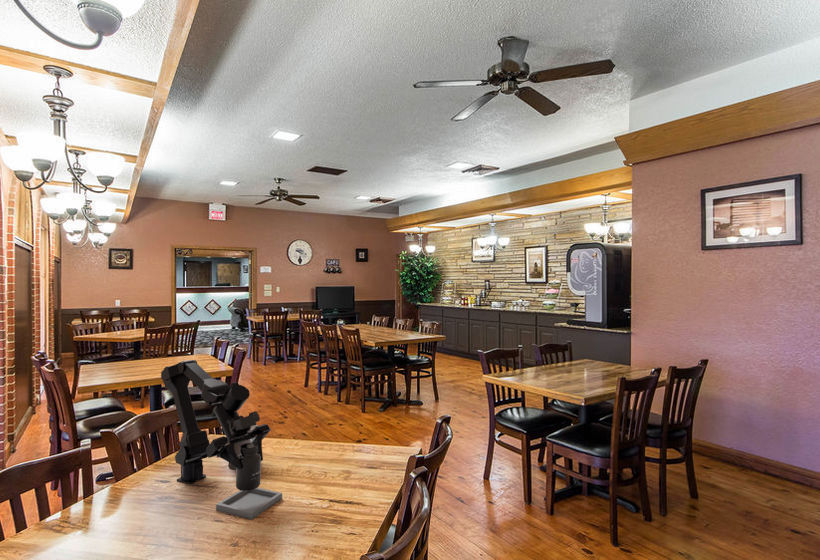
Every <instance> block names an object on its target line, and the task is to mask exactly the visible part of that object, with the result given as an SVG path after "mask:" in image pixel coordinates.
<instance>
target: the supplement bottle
mask: <svg viewBox="0 0 820 560" xmlns="http://www.w3.org/2000/svg"><path fill="white" fill-rule="evenodd" d="M257 451H258V445H257V444H256V443H246V444H243V445H241V447H240V453H241V454H240V455H239V456H238V459H239V461H240V463H241V466H242V469H241V470H239V469H238V468H236V470H235V488H236V490H238V491H250V490H254V489H256V488H260V485H261V475H262V474H261V472H262V471H261V469H262V467H261V466H262V461H261V456H260V454H259V453H257Z"/></svg>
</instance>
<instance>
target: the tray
mask: <svg viewBox="0 0 820 560" xmlns="http://www.w3.org/2000/svg"><path fill="white" fill-rule="evenodd" d="M281 500H283V492H279V491H275V490H270V489H267V488H262V487H258V488H256V489H254V490H250V491H240V490H238V491H236V492H235V493H233V494H231V495H229V496H228V497H226V498H224V499H222V500H221V501H219V502H217V503H216V504H215V511H216V512H221V513H225V514H229V515H233V516H236V517H240V518H244V519H247V520H250V521H251V520H252V521H253V520H254V519H255V518H257V517H258V516H259V515H261V514H262V513H264V512H266V511H267V510H268V509H270V508H272V507H273V506H275V505H276V504H278V503H279V502H280V501H281Z"/></svg>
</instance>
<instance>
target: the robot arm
mask: <svg viewBox="0 0 820 560" xmlns="http://www.w3.org/2000/svg"><path fill="white" fill-rule="evenodd" d="M160 377H161V380H162V382H163V385H164V387H165V388H166V389H168V391H169V392H171V394H172V396H173V401H174V405H175V409H176V412H177V417H178V421H179V426H180V429H181V432H182V435H181V438H180V441H179V450H178V451H177V453H176V454H175V456H174V459H175V463H176V464H177V465H180V477H179V478H177V479H176V481H177V482H180V483H185V484H190V485H191V484H194V483H196V482H198V481H200V480H202V479H204V478H207V475H206V474H205V473H204V465H203V462H204V461H203V460H204V459H207V458H213V457H215V456H216V458H220V459H222V460H224V461H226V462H227V463H228V464H229V463H230V464H232V465H233V466H235V467H236V468H238V469H239V470H241V469H242V466H241V463H240V461H239V459H238V457H237V454H236V452H235V450H234V444H237V443H240V442H243V441H246V440H250V441H251V443H256V444H257V445H258V451H257V453H259V454H260V456H261V462H263V461H264V455H263V444H262V443H263V440H264V439H265V437H267V435H268V434H269V433H270V432H271V431H272V429H271V427H270V425H269V424H267V423H263V424H260V425H258V424H257V423H259V422H260V420H261V417H260V415H259V413H258V411H257V410H255V411H251V412H249V414H248V415H246V416H244V415H242V414H240V415H239V412H238V411H240V409H241V408H242V407H243V406H244V404H245V403H246V401H247V400H248V399H249V398H250V394H251V393H250V391H249V389H248V388H247V387H245V385H242V384H239V381H237V382H232V383H231V384H230V385H229V384H228V383H227V382H225V381H223V380H219V379H215V378H213V377H212V376H211V375H210V374H209V373H208V372H207V371H206V370H204V369H203V367H201V366H200V365H199V364H198V362H197V360H195V359H188V360H182V361H180V362H178V363H176V364H173V365H169V366H165V367H164V368H163V370H162V371H161V373H160ZM190 382H191V383H193V384H194V385H195V386H196V387H197V388H198V390H200V391H201V394H200V397H201V399H202V400H203V401H204V403H206V405H208V406H210V405H211V406H212V405H216V404H217V405H216V406H214V407H213V410H212V412H211V416H212V417H217V420H218V423H219V424H220V430H219V431H220V432H221V433H224V435H225V436H224V435H223V436H221V437H217V438H214V439H212V440H211V441H210V440H209V437H208V432H207V431H206V430H205V429H204V430H202V429H201V428H199V425H198V421H197V417H196V413H195V410H194V407H193V406H194V405H193V402H192V399H191V396H190V395H191V394H190V391H189V385H190ZM254 425H257V426H256V427H255V428H254V430H253V431H252V432H250V433H248V431H249V430H250V429H251V426H254Z"/></svg>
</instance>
